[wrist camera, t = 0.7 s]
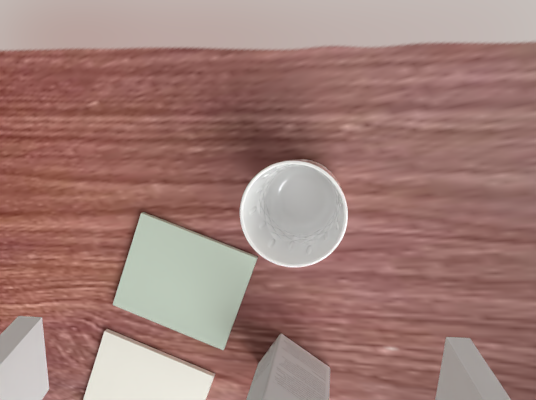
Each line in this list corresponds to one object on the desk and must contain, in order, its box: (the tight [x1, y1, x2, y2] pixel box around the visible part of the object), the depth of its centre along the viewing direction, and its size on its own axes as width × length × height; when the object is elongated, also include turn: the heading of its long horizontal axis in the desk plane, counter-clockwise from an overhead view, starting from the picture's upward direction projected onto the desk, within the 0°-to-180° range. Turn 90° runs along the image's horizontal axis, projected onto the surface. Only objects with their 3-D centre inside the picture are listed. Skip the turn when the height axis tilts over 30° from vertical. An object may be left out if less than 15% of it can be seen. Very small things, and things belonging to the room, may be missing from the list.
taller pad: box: [83, 329, 215, 400], centre depth 51 cm, size 12×10×1 cm
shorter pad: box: [113, 212, 258, 350], centre depth 48 cm, size 12×10×1 cm
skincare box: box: [246, 334, 330, 400], centre depth 42 cm, size 6×4×12 cm
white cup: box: [240, 159, 348, 267], centre depth 41 cm, size 8×8×10 cm
